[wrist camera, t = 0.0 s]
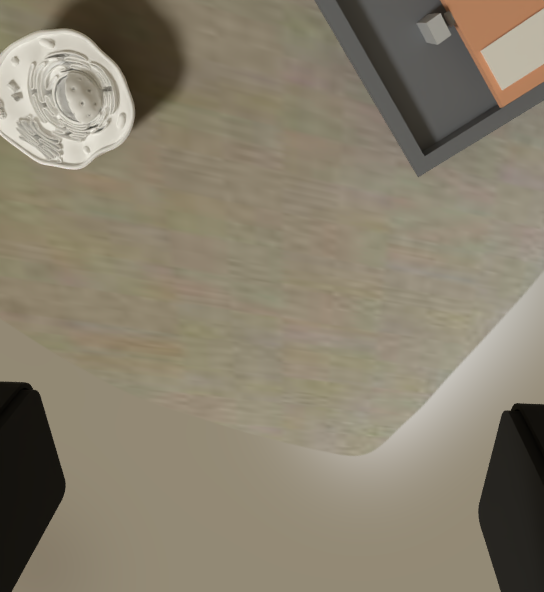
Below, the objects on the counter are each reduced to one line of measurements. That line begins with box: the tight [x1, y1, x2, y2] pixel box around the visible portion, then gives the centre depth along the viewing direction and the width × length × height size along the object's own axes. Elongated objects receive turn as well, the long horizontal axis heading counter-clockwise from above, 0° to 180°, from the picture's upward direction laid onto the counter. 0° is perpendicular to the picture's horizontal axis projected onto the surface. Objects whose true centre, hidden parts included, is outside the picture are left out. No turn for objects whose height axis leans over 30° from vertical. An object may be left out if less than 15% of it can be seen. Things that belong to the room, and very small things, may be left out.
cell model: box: [0, 28, 135, 169], centre depth 41 cm, size 10×12×7 cm
